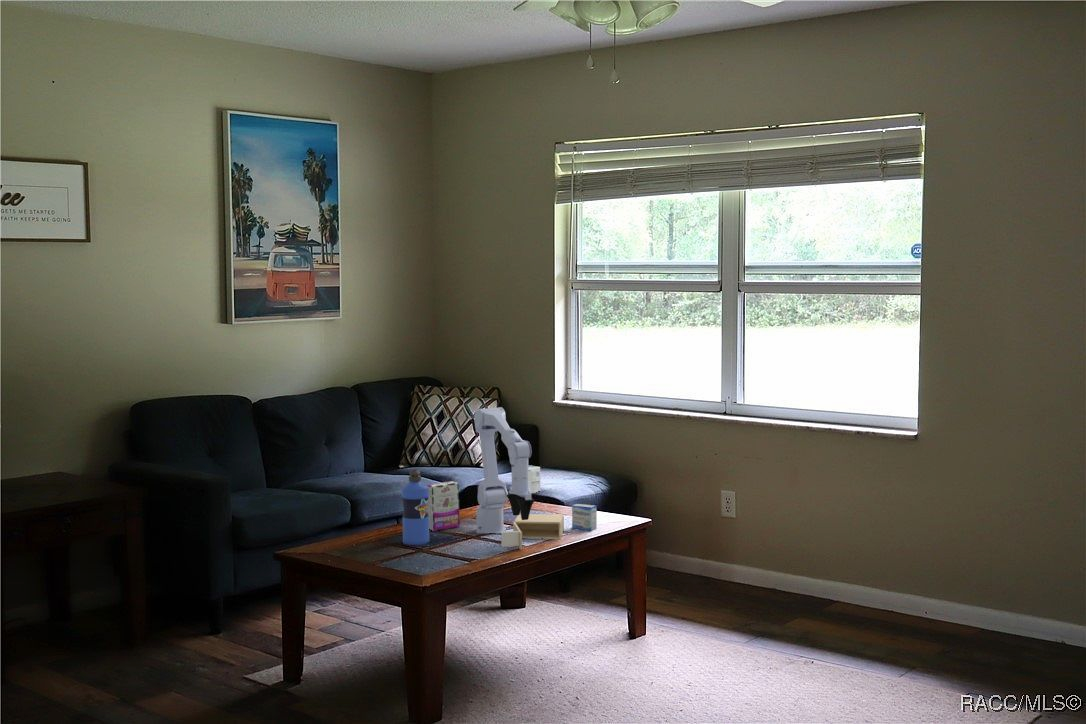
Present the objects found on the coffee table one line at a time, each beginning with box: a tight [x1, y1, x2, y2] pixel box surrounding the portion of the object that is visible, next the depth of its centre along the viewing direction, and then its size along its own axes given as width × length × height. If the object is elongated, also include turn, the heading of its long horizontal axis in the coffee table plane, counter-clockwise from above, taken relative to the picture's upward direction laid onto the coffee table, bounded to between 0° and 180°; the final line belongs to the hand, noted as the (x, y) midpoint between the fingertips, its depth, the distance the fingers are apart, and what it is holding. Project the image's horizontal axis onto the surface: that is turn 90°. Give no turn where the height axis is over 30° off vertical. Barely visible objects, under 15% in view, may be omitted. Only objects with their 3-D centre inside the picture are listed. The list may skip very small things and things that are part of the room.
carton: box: [513, 513, 565, 540], centre depth 374 cm, size 16×12×6 cm
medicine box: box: [571, 503, 598, 532], centre depth 382 cm, size 8×4×9 cm, turn 62°
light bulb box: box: [528, 465, 541, 495], centre depth 450 cm, size 11×7×11 cm, turn 130°
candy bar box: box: [426, 480, 461, 532], centre depth 385 cm, size 11×5×16 cm, turn 126°
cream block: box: [500, 521, 523, 551], centre depth 359 cm, size 16×7×6 cm, turn 10°
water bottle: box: [400, 468, 430, 546], centre depth 365 cm, size 9×9×25 cm
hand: (520, 517), depth 359 cm, fingers open, 7 cm apart
